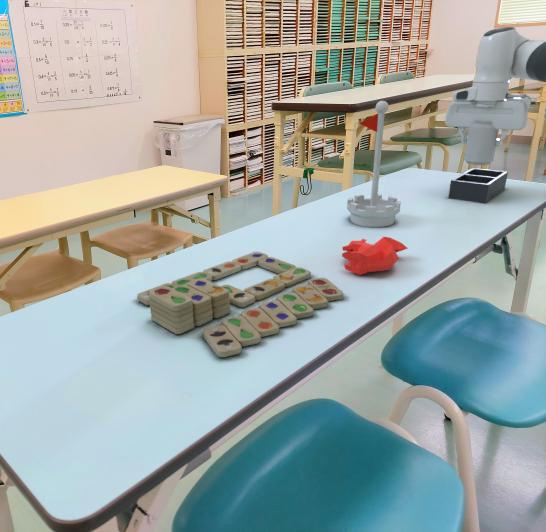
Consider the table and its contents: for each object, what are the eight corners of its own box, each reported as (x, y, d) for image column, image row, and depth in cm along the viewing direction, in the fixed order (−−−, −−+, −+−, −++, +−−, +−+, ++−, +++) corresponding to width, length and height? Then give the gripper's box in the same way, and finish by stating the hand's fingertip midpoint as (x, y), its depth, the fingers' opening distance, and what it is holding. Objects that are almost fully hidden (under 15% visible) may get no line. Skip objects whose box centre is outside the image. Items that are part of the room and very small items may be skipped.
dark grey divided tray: (504, 188, 159) (508, 171, 157) (485, 203, 146) (488, 184, 144) (469, 184, 165) (472, 168, 163) (448, 198, 152) (450, 180, 150)
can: (465, 165, 146) (472, 121, 142) (461, 160, 153) (467, 118, 148) (495, 166, 144) (502, 121, 140) (490, 160, 151) (497, 118, 146)
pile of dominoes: (222, 364, 76) (221, 331, 74) (123, 305, 96) (120, 277, 94) (360, 292, 97) (362, 264, 95) (255, 255, 116) (255, 231, 114)
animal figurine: (414, 259, 110) (417, 237, 108) (381, 282, 100) (384, 258, 99) (364, 247, 118) (366, 226, 116) (329, 267, 108) (330, 245, 106)
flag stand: (389, 212, 142) (401, 97, 130) (405, 227, 130) (419, 102, 118) (341, 213, 142) (348, 99, 131) (352, 229, 130) (362, 104, 119)
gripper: (535, 92, 137) (525, 145, 142) (454, 91, 150) (447, 140, 155) (529, 94, 133) (519, 149, 138) (446, 93, 145) (439, 143, 151)
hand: (480, 144), depth 147 cm, fingers closed on can, 7 cm apart
